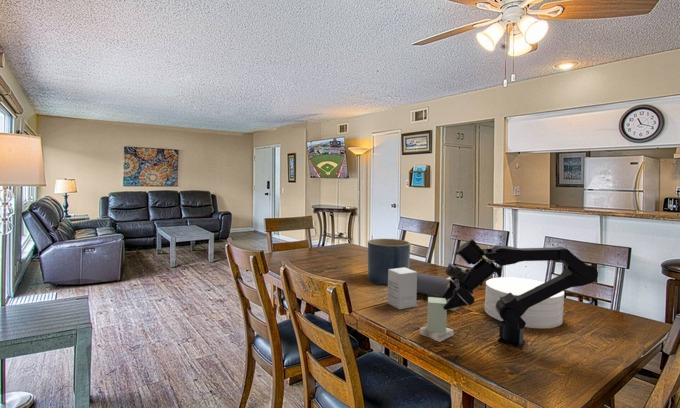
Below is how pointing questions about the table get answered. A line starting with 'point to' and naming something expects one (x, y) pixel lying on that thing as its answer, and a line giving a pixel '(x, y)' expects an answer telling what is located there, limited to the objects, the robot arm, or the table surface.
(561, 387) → the table surface
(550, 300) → the plate stack
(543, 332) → the table surface
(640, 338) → the table surface
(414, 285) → the supplement box
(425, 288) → the bluetooth speaker
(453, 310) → the box
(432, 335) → the base block
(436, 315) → the green block
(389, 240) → the planter
